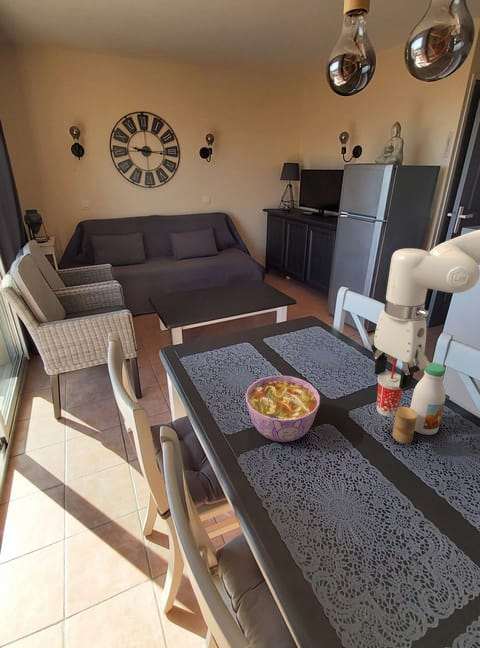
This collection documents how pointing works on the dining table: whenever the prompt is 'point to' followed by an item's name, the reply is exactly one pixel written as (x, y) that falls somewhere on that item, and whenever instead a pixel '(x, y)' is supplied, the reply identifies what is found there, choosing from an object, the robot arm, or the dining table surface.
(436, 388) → the milk bottle
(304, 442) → the dining table surface
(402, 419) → the cylinder
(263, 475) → the dining table surface
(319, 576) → the dining table surface
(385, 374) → the beverage cup
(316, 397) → the bowl of food
